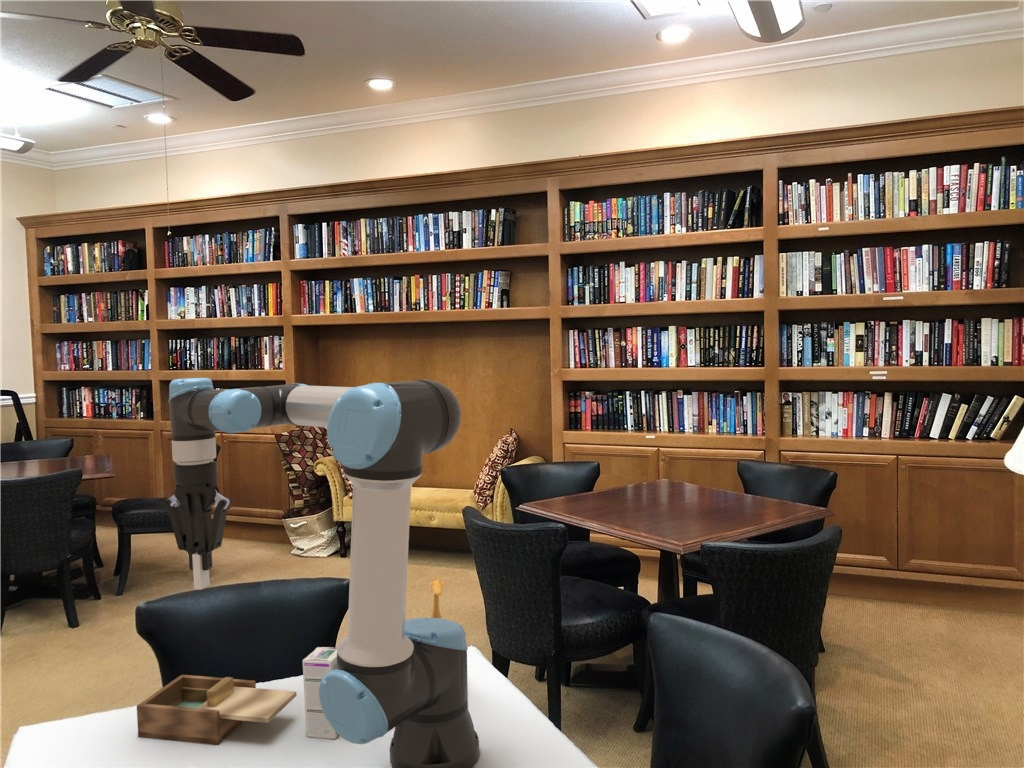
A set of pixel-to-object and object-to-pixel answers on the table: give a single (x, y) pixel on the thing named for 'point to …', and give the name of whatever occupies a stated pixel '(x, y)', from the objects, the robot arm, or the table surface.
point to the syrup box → (317, 691)
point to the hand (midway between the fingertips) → (202, 586)
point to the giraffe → (436, 597)
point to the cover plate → (246, 701)
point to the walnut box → (186, 712)
